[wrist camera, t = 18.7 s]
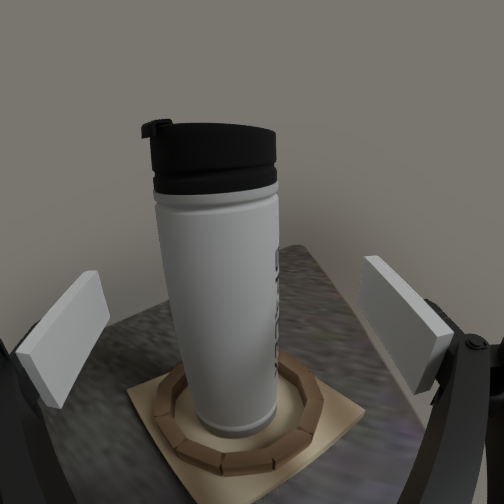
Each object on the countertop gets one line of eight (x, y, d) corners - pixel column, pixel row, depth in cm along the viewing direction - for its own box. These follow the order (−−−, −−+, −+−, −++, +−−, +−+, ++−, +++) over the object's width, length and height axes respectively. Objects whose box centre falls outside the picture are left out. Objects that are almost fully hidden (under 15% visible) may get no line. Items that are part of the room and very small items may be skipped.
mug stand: (214, 524, 12) (208, 514, 11) (129, 397, 23) (121, 377, 22) (362, 417, 20) (369, 398, 19) (254, 341, 30) (254, 322, 29)
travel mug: (178, 402, 21) (127, 129, 14) (245, 370, 25) (230, 121, 18) (220, 456, 17) (168, 113, 9) (293, 412, 20) (303, 114, 13)
